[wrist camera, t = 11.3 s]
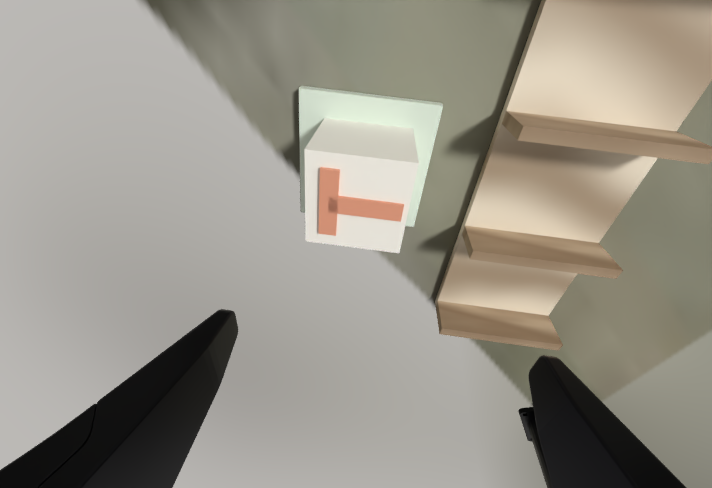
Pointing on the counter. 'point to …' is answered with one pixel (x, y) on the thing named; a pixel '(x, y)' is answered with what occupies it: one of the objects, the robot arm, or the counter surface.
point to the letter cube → (359, 184)
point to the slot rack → (572, 157)
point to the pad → (375, 111)
